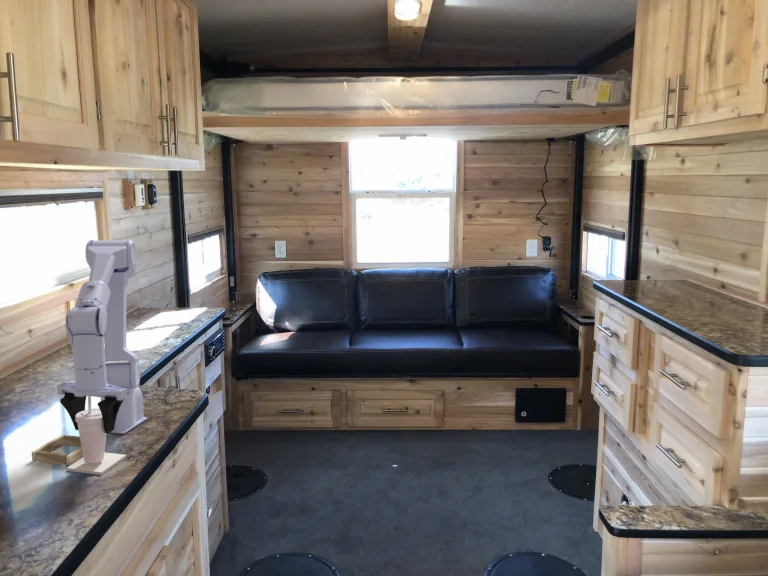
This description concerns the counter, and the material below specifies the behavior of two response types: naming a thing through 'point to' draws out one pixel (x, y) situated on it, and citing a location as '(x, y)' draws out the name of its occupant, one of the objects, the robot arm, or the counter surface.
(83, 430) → the smoothie
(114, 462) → the coaster pad
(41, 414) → the counter surface
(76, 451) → the collar
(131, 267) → the robot arm
